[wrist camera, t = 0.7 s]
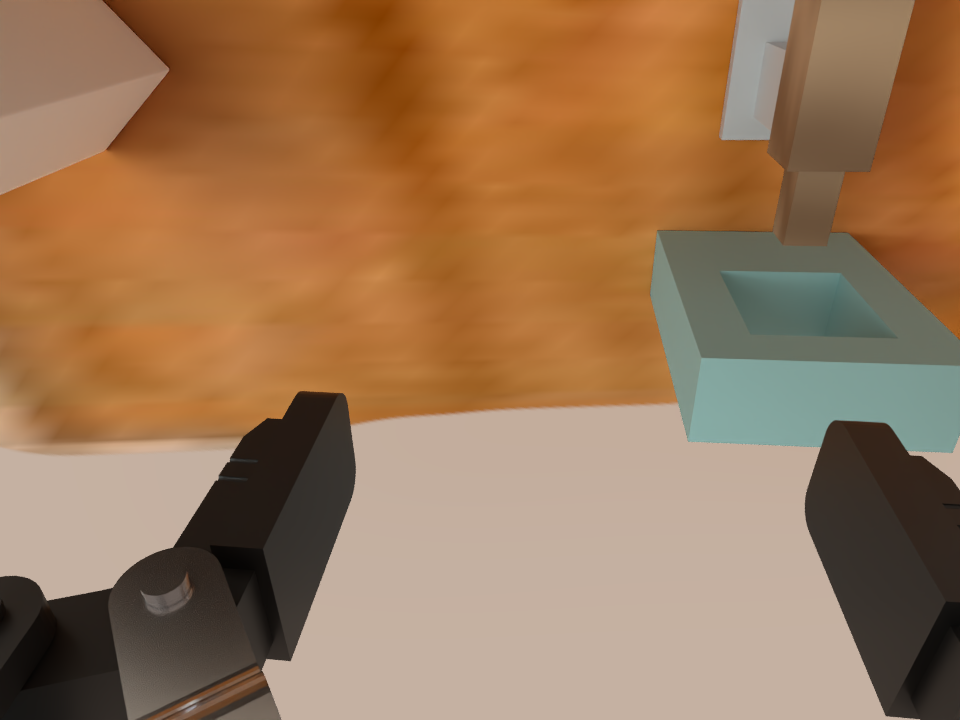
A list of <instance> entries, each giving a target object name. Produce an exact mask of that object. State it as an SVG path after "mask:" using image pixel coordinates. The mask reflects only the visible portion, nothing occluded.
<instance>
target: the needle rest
mask: <svg viewBox="0 0 960 720" xmlns="http://www.w3.org/2000/svg"><path fill="white" fill-rule="evenodd" d="M794 4H795V0H739V5H738V12H737V19H736V26H735V32H734V39H733V46H732V53H731V59H730V66H729V73H728V80H727V86H726V93H725V100H724V107H723V114H722V120H721V127H720V134H719V137H720V139H721V140H769V139H770V134H771V128H772V123H773V118H774V112H775V107H776V101H777V96H778V90H779V85H780V80H781V74H782V69H783V63H784V58H785V52H786V47H787V42H788V36H789V31H790V25H791V20H792V14H793V9H794Z"/></svg>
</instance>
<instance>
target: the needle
mask: <svg viewBox="0 0 960 720" xmlns="http://www.w3.org/2000/svg"><path fill="white" fill-rule="evenodd" d="M914 2H915V0H795V4H794V9H793V14H792V20H791V25H790V31H789V36H788V42H787V47H786V52H785V58H784V63H783V69H782V74H781V80H780V85H779V90H778V96H777V101H776V107H775V112H774V118H773V123H772V128H771V134H770V139H769V145H768V150H767V153H768V154H769V155H770V156H771V157H772V158H774V159H775V160H776V161H777V162H778V163H779V164H780V165H781V166H782V167H783V168H784V169H785V171H784V176H783V181H782V186H781V191H780V196H779V201H778V206H777V211H776V216H775V221H774V226H773V231H772V232H773V233H774V234H775V235H776V237H777V238H778V239H779V241H780V242H781V243H782V245H783V246H827V244H828V240H829V235H830V231H831V227H832V223H833V219H834V215H835V211H836V207H837V203H838V199H839V194H840V190H841V186H842V182H843V178H844V174H845V172H870V170H871V166H872V163H873V159H874V155H875V151H876V147H877V143H878V140H879V136H880V132H881V128H882V124H883V121H884V117H885V113H886V109H887V105H888V102H889V98H890V94H891V90H892V86H893V82H894V79H895V75H896V71H897V67H898V63H899V60H900V56H901V52H902V48H903V44H904V41H905V37H906V33H907V29H908V25H909V21H910V18H911V14H912V10H913V6H914Z"/></svg>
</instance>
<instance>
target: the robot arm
mask: <svg viewBox="0 0 960 720" xmlns="http://www.w3.org/2000/svg"><path fill="white" fill-rule="evenodd" d="M355 474H356V466H355V456H354V448H353V441H352V435H351V426H350V419H349V411H348V404H347V400H346V397H345V395H344V394H343V393H326V392H307V391H300V392H298V393H297V395H296V396H295V398H294V399H293V401H292V403H291V405H290V406H289V408H288V410H287V412H286V413H285V415H284V417H283V418H282V419H270V418H267V419H266V420H265V421H263V422H262V423H261V424H259V425H258V426H257V427H255V428H254V429H253V430H252V431H250V432H249V433H248V434H246V435H245V436H244V437H243V438H242V440H241V442H240V443H239V445H238V446H237V448H236V449H235V451H234V453H233V454H232V456H231V457H230V462H228V463H227V464H226V465H225V467H224V468H223V470H222V471H221V473H220V475H219V480H218V481H215V483H214V484H213V486H212V487H211V489H210V490H209V492H208V493H207V495H206V497H205V498H204V500H203V501H202V503H201V505H200V506H199V508H198V509H197V511H196V512H195V514H194V516H193V517H192V519H191V520H190V522H189V524H188V525H187V527H186V528H185V530H184V531H183V533H182V534H181V536H180V538H179V539H178V541H177V542H176V544H175V545H174V547H173V548H170V549H166V550H162V551H159V552H156V553H154V554H152V555H150V556H148V557H146V558H144V559H142V560H140V561H139V562H137V563H136V564H134V565H133V566H132V567H131V568H129V569H128V570H127V571H126V572H125V573H124V574H123V575H122V576H121V577H120V579H119V580H118V581H117V583H116V584H115V585H114V587H113V588H111V589H106V590H102V591H97V592H91V593H86V594H81V595H75V596H70V597H65V598H59V599H54V600H49V601H47V600H46V598H45V597H44V594H43V592H42V590H41V589H40V587H39V586H38V585H37V583H36V582H34V581H32V580H30V579H28V578H25V577H19V576H4V577H0V720H281V717H280V715H279V712H278V709H277V707H276V704H275V701H274V699H273V697H272V694H271V691H270V688H269V686H268V683H267V681H266V678H265V676H264V674H263V672H262V671H261V670H262V668H263V666H264V663H265V661H266V659H274V660H286V661H291V658H292V656H293V653H294V651H295V648H296V645H297V643H298V640H299V637H300V635H301V631H302V629H303V627H304V624H305V621H306V619H307V616H308V613H309V611H310V608H311V605H312V602H313V600H314V597H315V595H316V592H317V589H318V587H319V584H320V581H321V579H322V576H323V573H324V571H325V568H326V565H327V562H328V560H329V557H330V554H331V552H332V549H333V547H334V544H335V541H336V538H337V536H338V533H339V530H340V528H341V525H342V522H343V520H344V517H345V514H346V512H347V509H348V506H349V503H350V501H351V498H352V495H353V490H354V484H355ZM805 516H806V522H807V527H808V530H809V532H810V535H811V537H812V540H813V542H814V544H815V547H816V549H817V552H818V554H819V556H820V559H821V561H822V564H823V566H824V569H825V571H826V573H827V575H828V578H829V580H830V583H831V585H832V588H833V590H834V593H835V595H836V597H837V600H838V602H839V604H840V607H841V609H842V612H843V614H844V617H845V619H846V621H847V624H848V626H849V629H850V631H851V633H852V636H853V638H854V641H855V643H856V645H857V648H858V650H859V652H860V655H861V658H862V660H863V662H864V665H865V667H866V669H867V672H868V674H869V677H870V679H871V681H872V684H873V686H874V689H875V691H876V694H877V696H878V698H879V701H880V703H881V706H882V708H883V710H884V713H885V715H886V716H890V717H902V718H914V719H920V720H960V490H959V489H958V487H957V486H956V484H955V483H954V482H953V480H952V479H950V477H948V476H947V475H946V474H944V473H943V472H942V471H940V470H939V469H938V468H936V467H935V466H934V465H932V464H931V463H930V462H929V461H927V460H926V459H925V458H923V457H922V456H910V455H909V453H908V452H907V450H906V449H905V447H904V446H903V444H902V443H901V441H900V440H899V438H898V437H897V435H896V434H895V432H894V431H893V429H892V428H891V427H890V426H889V425H888V424H886V423H882V422H863V421H843V420H835V421H833V422H831V423H830V425H829V426H828V428H827V430H826V433H825V436H824V439H823V442H822V445H821V449H820V452H819V455H818V458H817V461H816V464H815V467H814V470H813V473H812V476H811V479H810V483H809V486H808V489H807V492H806V498H805Z"/></svg>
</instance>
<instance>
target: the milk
mask: <svg viewBox="0 0 960 720" xmlns="http://www.w3.org/2000/svg"><path fill="white" fill-rule="evenodd" d="M168 72H169V68H168V67H167V66H166V65H165V64H164V63H163V62H162V61H161V60H160V59H159V58H158V57H157V56H156V55H155V54H154V52H153V51H152V50H151V49H150V48H149V47H148V46H147V45H146V44H145V43H144V42H143V41H142V40H141V39H140V38H139V37H138V36H137V35H136V34H135V33H134V32H133V31H132V30H131V29H130V28H129V27H128V26H127V25H126V24H125V23H124V22H123V21H122V20H121V19H120V18H119V17H118V16H117V15H116V14H115V13H114V12H113V11H112V10H111V9H110V8H109V7H108V6H107V5H106V4H105V3H104V2H103V0H0V195H1V194H4V193H6V192H8V191H11V190H13V189H15V188H18V187H20V186H23V185H25V184H27V183H30V182H32V181H34V180H37V179H39V178H42V177H44V176H46V175H49V174H51V173H53V172H56V171H58V170H61V169H63V168H65V167H68V166H70V165H72V164H75V163H77V162H80V161H82V160H84V159H87V158H89V157H91V156H94V155H96V154H99V153H101V152H103V151H105V150H106V149H107V147H108V146H109V145H110V144H111V143H112V141H113V140H114V139H115V138H116V136H117V135H118V134H119V133H120V131H121V130H122V129H123V128H124V126H125V125H126V124H127V123H128V121H129V120H130V119H131V118H132V116H133V115H134V114H135V113H136V112H137V110H138V109H139V108H140V107H141V105H142V104H143V103H144V102H145V100H146V99H147V98H148V97H149V95H150V94H151V93H152V92H153V90H154V89H155V88H156V87H157V85H158V84H159V83H160V82H161V80H162V79H163V78H164V77H165V76H166V74H167V73H168Z"/></svg>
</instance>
